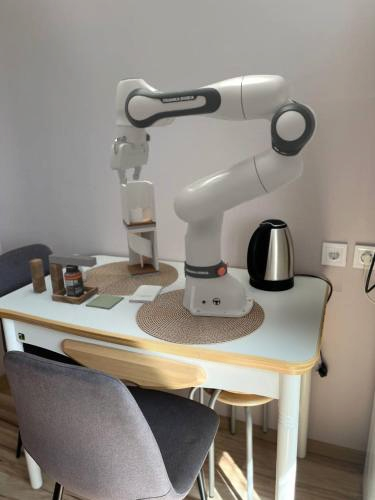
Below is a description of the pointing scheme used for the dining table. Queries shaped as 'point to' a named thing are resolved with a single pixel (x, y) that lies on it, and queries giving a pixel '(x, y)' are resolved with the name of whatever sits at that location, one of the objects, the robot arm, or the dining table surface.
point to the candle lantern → (140, 228)
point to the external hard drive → (145, 294)
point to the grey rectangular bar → (73, 260)
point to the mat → (105, 301)
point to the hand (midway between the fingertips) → (129, 181)
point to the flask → (82, 273)
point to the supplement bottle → (73, 281)
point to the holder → (56, 283)
